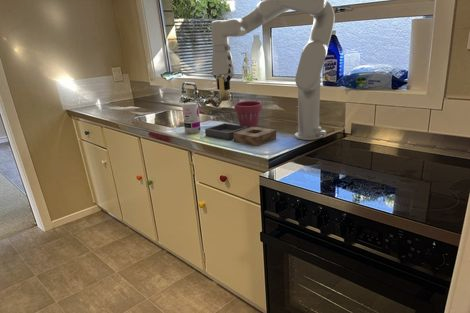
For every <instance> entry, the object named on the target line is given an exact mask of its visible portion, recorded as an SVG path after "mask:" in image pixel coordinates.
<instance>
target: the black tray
mask: <svg viewBox="0 0 470 313" xmlns="http://www.w3.org/2000/svg"><path fill="white" fill-rule="evenodd" d="M246 128H248V127H247V126H240V124H234V123H233V124H232V123H226V122H224V123H220V124H217V125H214V126H210V127H207V128H204V131H205V132H204V133H205V136H206V137H211V138H215V139H220V140H224V141H231V140H234V139H233V133H234V132H237V131H240V130H243V129H246Z"/></svg>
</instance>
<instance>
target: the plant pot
mask: <svg viewBox="0 0 470 313" xmlns="http://www.w3.org/2000/svg"><path fill="white" fill-rule="evenodd" d="M262 109H263V107H262V102H261V101H258V100H256V101H255V100H247V101H244V100H243V101H238V102H236V103H234V112H236V116H237V119H238V125H240V126H247V127H248V128H249V127H252V126H253V127H258V125H259V121H260V116H261V115H260V114H261V111H262Z"/></svg>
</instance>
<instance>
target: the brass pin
mask: <svg viewBox="0 0 470 313" xmlns="http://www.w3.org/2000/svg"><path fill="white" fill-rule="evenodd" d="M224 81H225V79H224V75H222V76H221V77H219V101H221V102H225V101H229V90H224Z"/></svg>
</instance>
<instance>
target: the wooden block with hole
mask: <svg viewBox="0 0 470 313" xmlns="http://www.w3.org/2000/svg"><path fill="white" fill-rule="evenodd" d="M276 139H277V129H271V128H267V127H266V128H265V127H253V126H252V127H249V128H246V129H243V130H240V131H237V132H234V133H233V139H232V140H233V142H235V143H240V144H244V145H250V146H255V147H258V146H260V145H261V146H262V145H264V144H265V143H268V142H272V141H274V140H276Z"/></svg>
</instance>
